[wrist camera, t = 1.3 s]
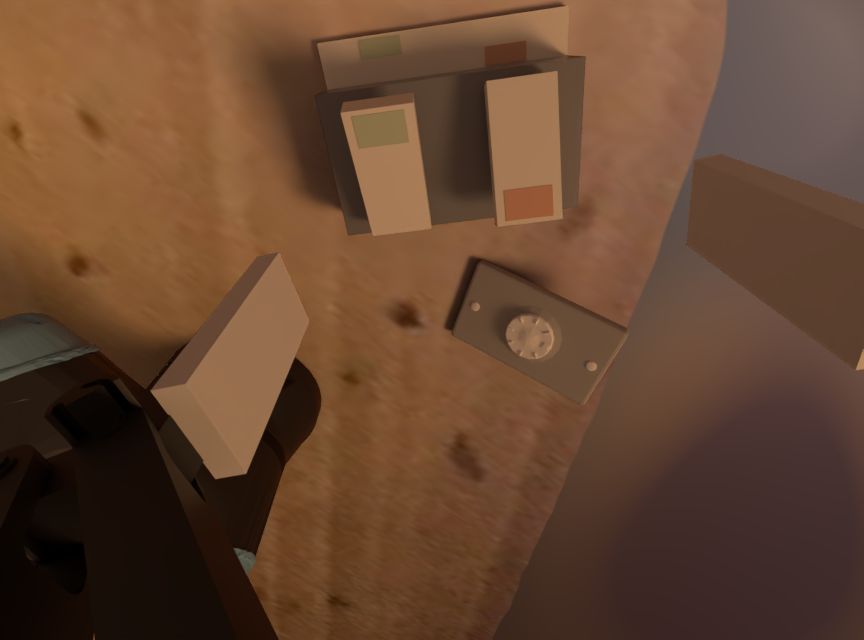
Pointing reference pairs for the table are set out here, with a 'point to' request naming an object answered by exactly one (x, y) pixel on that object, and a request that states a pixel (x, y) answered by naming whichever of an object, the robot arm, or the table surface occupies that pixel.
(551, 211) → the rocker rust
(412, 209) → the rocker sage
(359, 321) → the table surface
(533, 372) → the light switch
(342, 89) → the console
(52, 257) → the table surface
